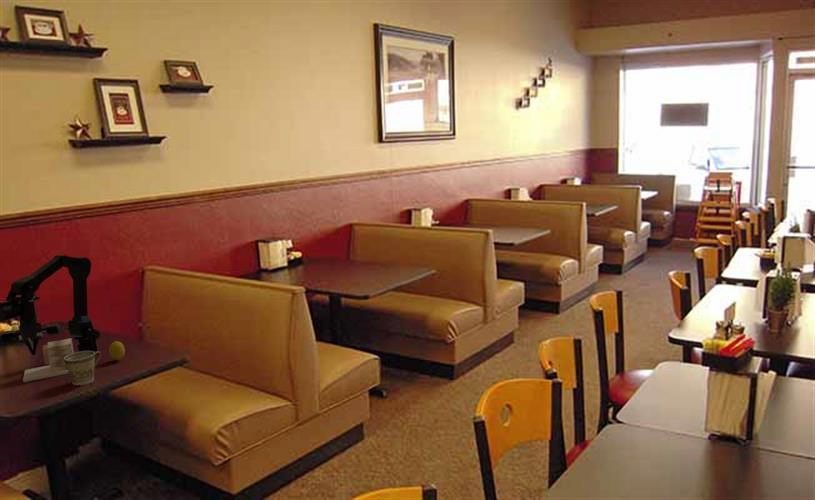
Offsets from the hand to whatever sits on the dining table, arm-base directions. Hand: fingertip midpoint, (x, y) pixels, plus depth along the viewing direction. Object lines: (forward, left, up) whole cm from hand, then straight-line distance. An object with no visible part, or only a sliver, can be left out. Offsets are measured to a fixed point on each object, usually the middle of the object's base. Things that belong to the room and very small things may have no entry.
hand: (33, 354), depth 242 cm
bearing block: (-9, 0, -8) cm, 12 cm away
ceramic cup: (-17, +19, -8) cm, 26 cm away
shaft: (-8, 0, -4) cm, 9 cm away
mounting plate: (-5, 0, -8) cm, 9 cm away
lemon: (-28, +2, -8) cm, 29 cm away
